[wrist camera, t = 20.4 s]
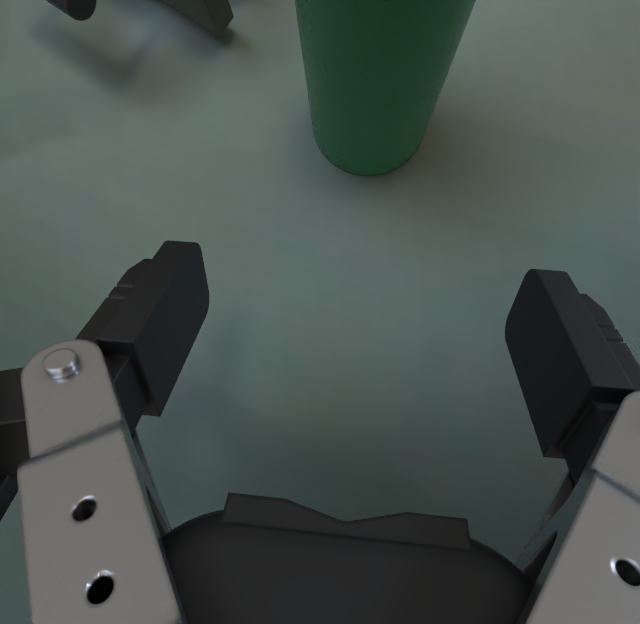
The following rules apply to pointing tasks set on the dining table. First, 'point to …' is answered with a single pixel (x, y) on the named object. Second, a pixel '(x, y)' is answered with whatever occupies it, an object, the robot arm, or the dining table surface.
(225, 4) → the drawer
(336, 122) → the green can
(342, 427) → the dining table surface
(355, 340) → the dining table surface
